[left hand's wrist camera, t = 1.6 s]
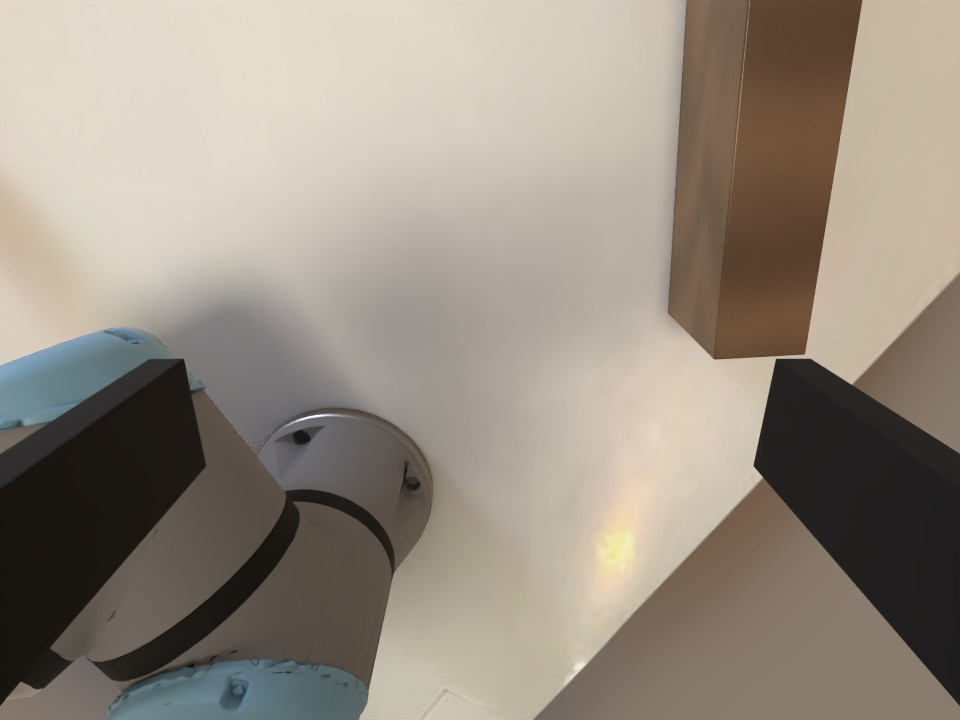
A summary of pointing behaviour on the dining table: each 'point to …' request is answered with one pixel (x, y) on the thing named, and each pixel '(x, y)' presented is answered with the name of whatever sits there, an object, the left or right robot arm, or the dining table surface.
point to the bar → (756, 168)
